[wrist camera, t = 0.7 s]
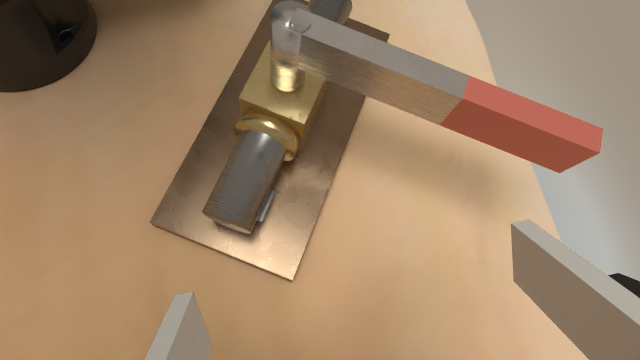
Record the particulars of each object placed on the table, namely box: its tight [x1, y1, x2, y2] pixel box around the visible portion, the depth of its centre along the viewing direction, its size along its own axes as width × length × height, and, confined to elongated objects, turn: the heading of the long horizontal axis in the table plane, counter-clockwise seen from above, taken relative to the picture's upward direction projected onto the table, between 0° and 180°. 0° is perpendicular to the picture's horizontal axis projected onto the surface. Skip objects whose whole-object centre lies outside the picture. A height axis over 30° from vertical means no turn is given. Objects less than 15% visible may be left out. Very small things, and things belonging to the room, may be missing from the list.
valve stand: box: [150, 0, 390, 282], centre depth 39 cm, size 30×14×8 cm, turn 159°
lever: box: [270, 0, 603, 173], centre depth 31 cm, size 24×3×7 cm, turn 69°
